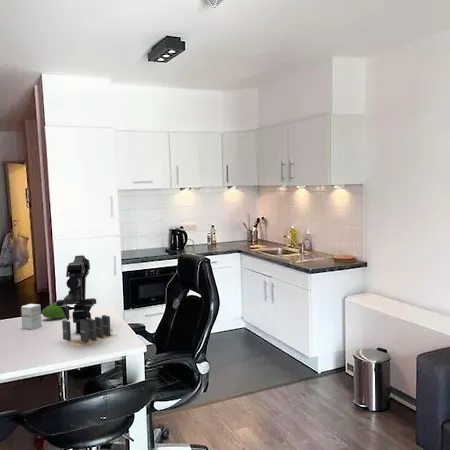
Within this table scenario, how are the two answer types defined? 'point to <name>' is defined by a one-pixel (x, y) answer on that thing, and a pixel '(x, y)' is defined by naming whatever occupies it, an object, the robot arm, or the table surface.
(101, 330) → the domino
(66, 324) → the domino
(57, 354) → the table surface
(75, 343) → the board
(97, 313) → the table surface
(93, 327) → the domino
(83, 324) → the domino
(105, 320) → the domino
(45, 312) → the fruit
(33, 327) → the supplement box
